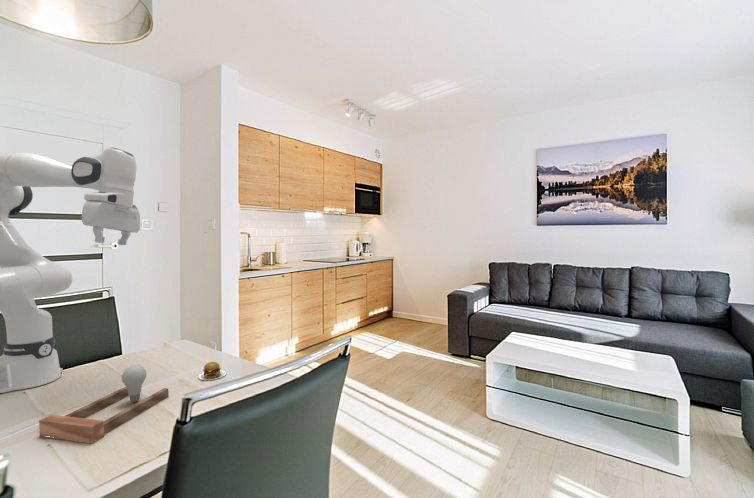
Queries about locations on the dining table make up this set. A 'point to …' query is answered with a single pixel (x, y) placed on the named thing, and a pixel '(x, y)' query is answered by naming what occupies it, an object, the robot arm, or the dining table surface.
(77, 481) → the dining table surface
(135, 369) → the lightbulb
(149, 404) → the guide track
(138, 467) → the dining table surface
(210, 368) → the hamburger
